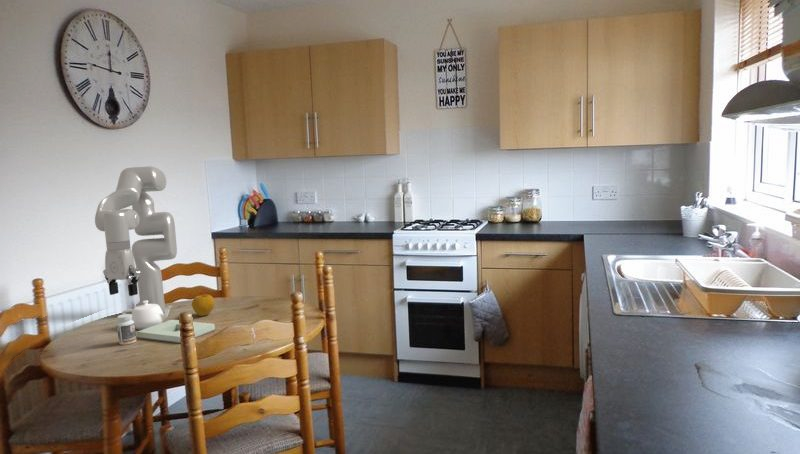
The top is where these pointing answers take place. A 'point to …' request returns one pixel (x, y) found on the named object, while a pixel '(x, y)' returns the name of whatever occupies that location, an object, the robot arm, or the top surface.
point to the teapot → (147, 315)
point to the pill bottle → (126, 329)
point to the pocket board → (172, 331)
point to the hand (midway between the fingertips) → (123, 294)
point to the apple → (203, 304)
